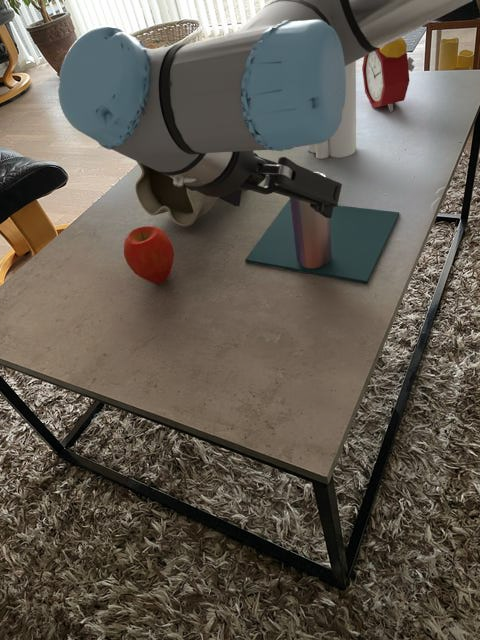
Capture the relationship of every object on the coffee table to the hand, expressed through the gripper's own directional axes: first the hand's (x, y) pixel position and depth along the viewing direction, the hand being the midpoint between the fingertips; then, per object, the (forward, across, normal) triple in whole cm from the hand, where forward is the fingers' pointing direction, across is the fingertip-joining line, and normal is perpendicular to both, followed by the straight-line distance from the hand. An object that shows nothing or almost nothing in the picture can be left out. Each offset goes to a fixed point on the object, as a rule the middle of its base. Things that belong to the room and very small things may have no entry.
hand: (282, 202), depth 66 cm
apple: (+10, -25, -15) cm, 31 cm away
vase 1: (+30, -29, +4) cm, 42 cm away
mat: (+24, -1, -1) cm, 24 cm away
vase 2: (+47, -11, +22) cm, 53 cm away
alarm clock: (+65, -6, +40) cm, 77 cm away
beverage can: (+19, 0, -6) cm, 20 cm away
